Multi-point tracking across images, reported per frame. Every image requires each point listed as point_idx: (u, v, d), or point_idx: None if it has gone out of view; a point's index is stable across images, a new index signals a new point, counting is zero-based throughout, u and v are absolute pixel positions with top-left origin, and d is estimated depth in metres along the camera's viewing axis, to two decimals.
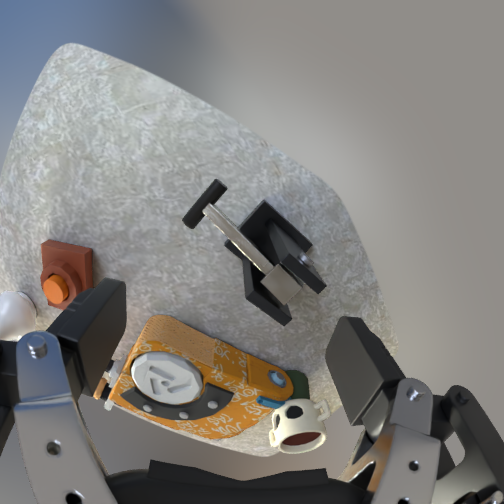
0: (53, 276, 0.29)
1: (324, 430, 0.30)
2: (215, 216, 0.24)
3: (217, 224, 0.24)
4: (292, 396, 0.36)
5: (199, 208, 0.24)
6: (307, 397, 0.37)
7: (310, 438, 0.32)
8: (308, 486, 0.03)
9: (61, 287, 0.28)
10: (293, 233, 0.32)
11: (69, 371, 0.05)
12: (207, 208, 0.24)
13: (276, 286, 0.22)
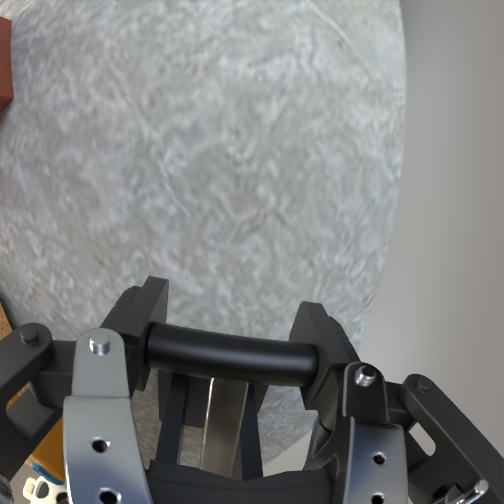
0: None
1: None
2: (225, 416, 0.07)
3: (211, 430, 0.07)
4: None
5: (216, 370, 0.07)
6: None
7: None
8: (308, 486, 0.03)
9: None
10: None
11: (130, 366, 0.06)
12: (231, 385, 0.07)
13: None
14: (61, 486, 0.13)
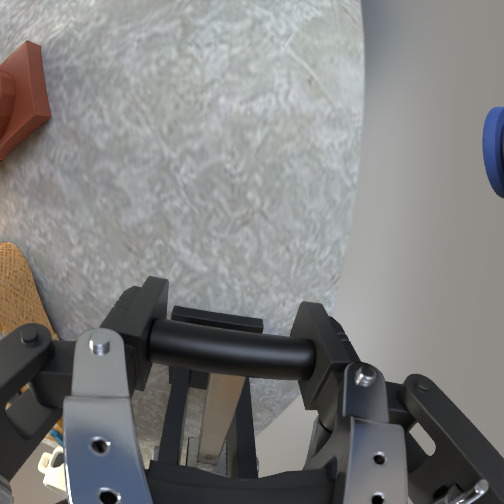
0: None
1: None
2: (224, 397, 0.08)
3: (211, 406, 0.08)
4: None
5: (215, 371, 0.07)
6: None
7: None
8: (308, 486, 0.03)
9: None
10: None
11: (129, 366, 0.06)
12: (229, 378, 0.08)
13: None
14: None
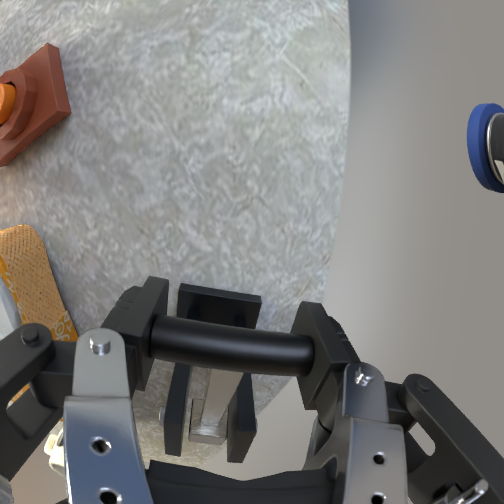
0: (11, 89, 0.12)
1: None
2: (224, 384, 0.09)
3: (212, 388, 0.09)
4: None
5: (215, 368, 0.08)
6: None
7: None
8: (308, 486, 0.03)
9: (2, 111, 0.12)
10: None
11: (130, 366, 0.06)
12: (229, 372, 0.08)
13: (200, 439, 0.13)
14: None
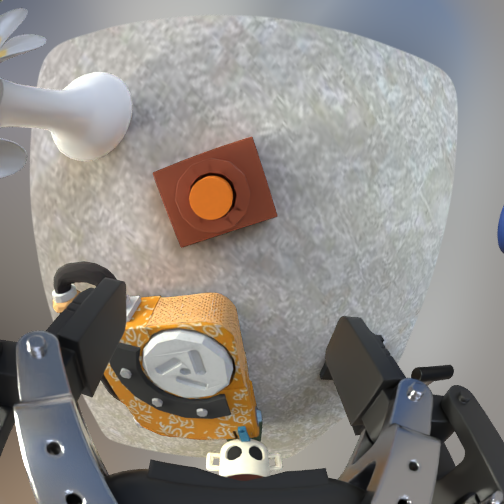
0: (229, 186, 0.23)
1: None
2: None
3: None
4: None
5: (431, 381, 0.18)
6: None
7: (245, 478, 0.29)
8: (308, 486, 0.03)
9: (227, 211, 0.23)
10: None
11: (69, 371, 0.05)
12: (430, 381, 0.19)
13: None
14: (249, 442, 0.31)
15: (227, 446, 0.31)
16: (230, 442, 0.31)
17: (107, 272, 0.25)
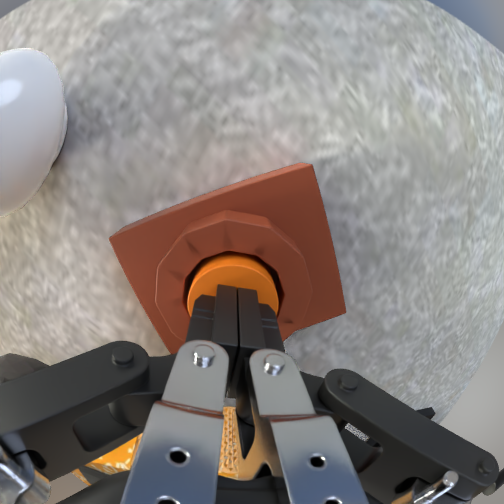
0: (269, 273, 0.11)
1: None
2: None
3: None
4: None
5: None
6: None
7: None
8: None
9: None
10: None
11: None
12: None
13: None
14: None
15: None
16: None
17: None
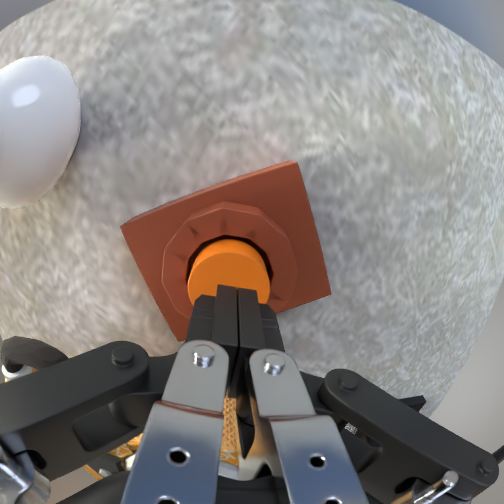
0: (261, 260, 0.13)
1: None
2: None
3: None
4: None
5: None
6: None
7: None
8: None
9: None
10: None
11: None
12: None
13: None
14: None
15: None
16: None
17: None
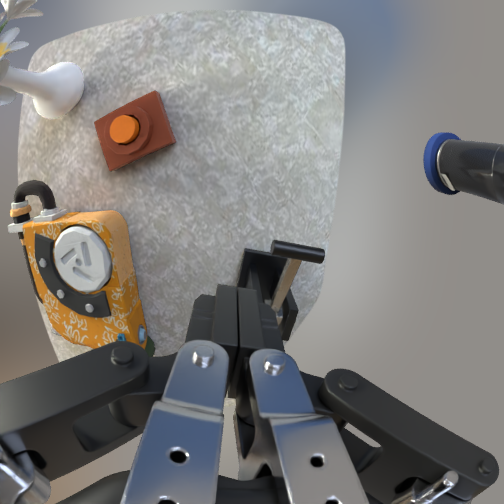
0: (135, 121, 0.29)
1: None
2: (292, 269, 0.26)
3: (287, 273, 0.27)
4: None
5: (293, 257, 0.25)
6: None
7: None
8: None
9: (132, 136, 0.29)
10: None
11: None
12: (296, 261, 0.26)
13: None
14: None
15: None
16: None
17: (47, 187, 0.31)
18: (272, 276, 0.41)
